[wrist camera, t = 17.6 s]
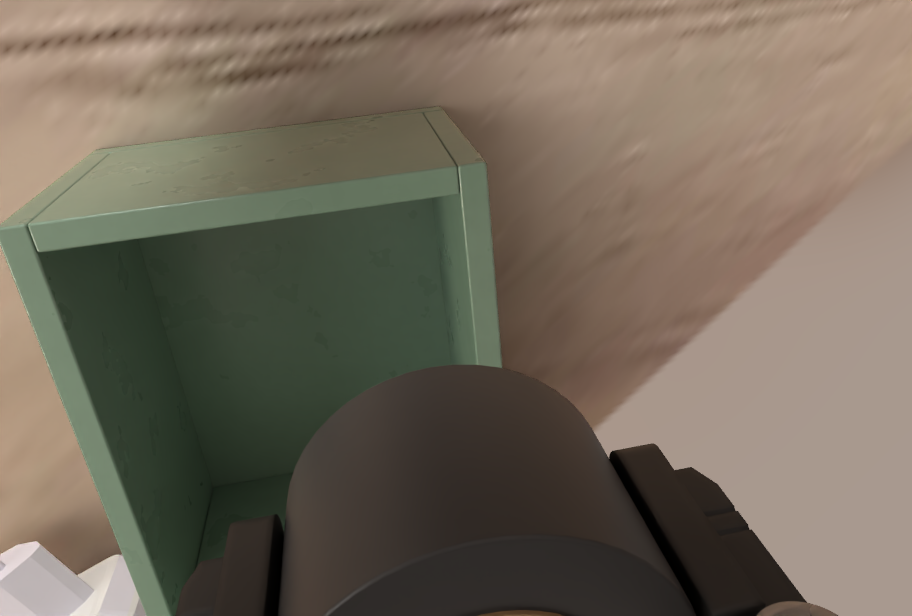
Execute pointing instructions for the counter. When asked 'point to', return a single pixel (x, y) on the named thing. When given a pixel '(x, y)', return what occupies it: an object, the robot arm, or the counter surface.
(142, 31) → the counter surface
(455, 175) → the bin
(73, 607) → the charger
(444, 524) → the tape
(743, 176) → the counter surface
